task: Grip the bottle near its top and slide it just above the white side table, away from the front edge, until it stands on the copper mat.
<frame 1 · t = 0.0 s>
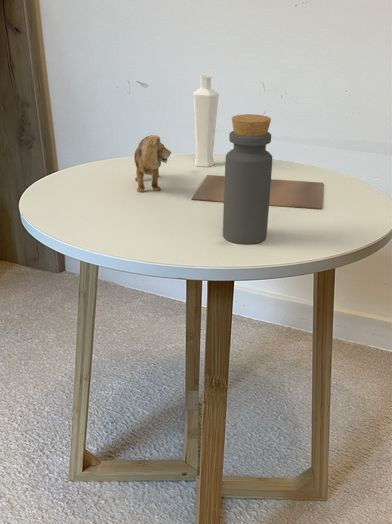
perfume bottle: (203, 165, 112), on the table
bottle: (244, 237, 80), on the table
lion figurine: (151, 186, 99), on the table
copper mat: (260, 191, 97), on the table
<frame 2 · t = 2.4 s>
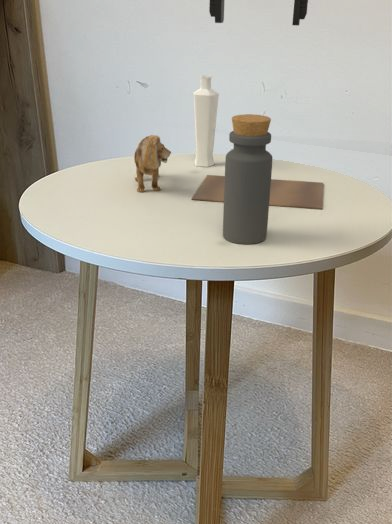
hand: (257, 23, 66), 25 cm above the table, tool pointing down, fingers open, 8 cm apart
nothing on the table moved.
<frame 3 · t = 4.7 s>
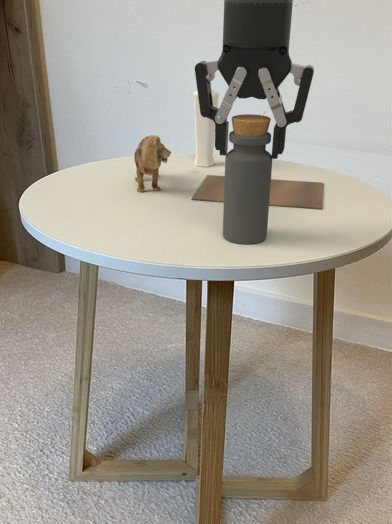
hand: (249, 155, 74), 11 cm above the table, tool pointing down, fingers closed on bottle, 5 cm apart
bottle: (244, 237, 80), on the table, touching gripper
everything else where it was.
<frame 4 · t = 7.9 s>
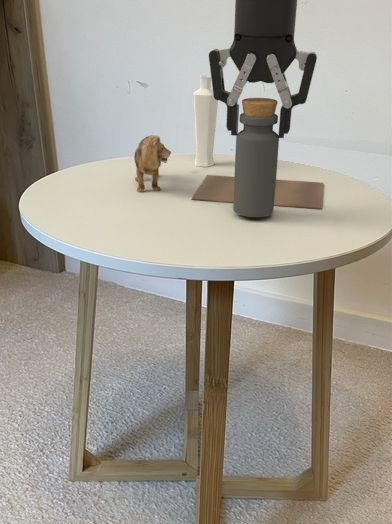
hand: (257, 135, 81), 11 cm above the table, tool pointing down, fingers closed on bottle, 5 cm apart
bottle: (253, 212, 87), on the table, touching gripper
everything else where it was.
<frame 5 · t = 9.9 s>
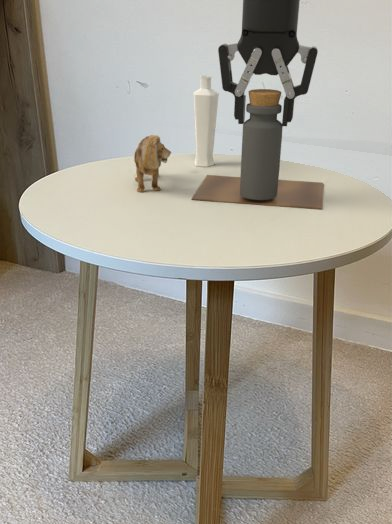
hand: (263, 123, 88), 11 cm above the table, tool pointing down, fingers closed on bottle, 5 cm apart
bottle: (258, 196, 94), resting on copper mat, touching gripper
everything else where it was.
when the fingers open (11 cm above the table, at t = 11.3 s): bottle stays where it is, resting on copper mat.
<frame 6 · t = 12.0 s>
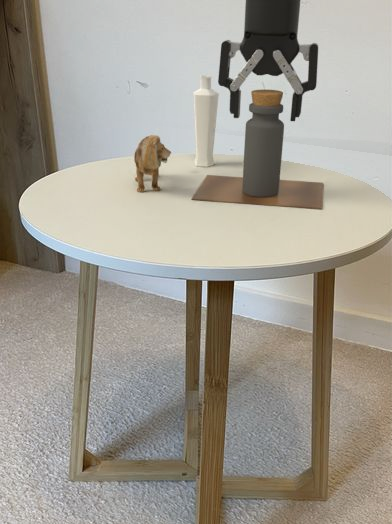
hand: (264, 118, 91), 11 cm above the table, tool pointing down, fingers open, 8 cm apart
bottle: (260, 193, 96), resting on copper mat
everything else where it was.
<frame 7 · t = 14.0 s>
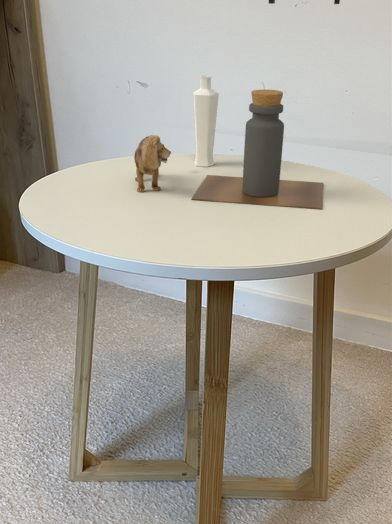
hand: (304, 3, 79), 27 cm above the table, tool pointing down, fingers open, 8 cm apart
nothing on the table moved.
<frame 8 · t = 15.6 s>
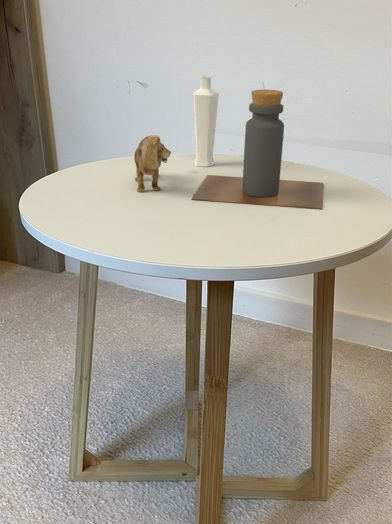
nothing on the table moved.
at the end: bottle inside the target area on the copper mat (1.1 cm from its centre), point 0.0 cm above the copper mat's base; bottle tilted 0° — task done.
